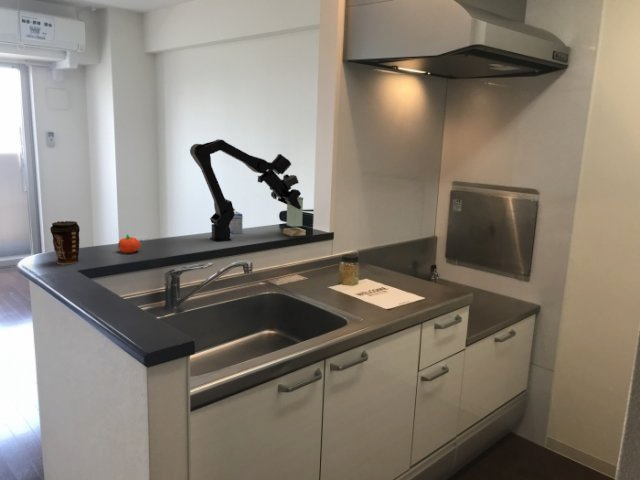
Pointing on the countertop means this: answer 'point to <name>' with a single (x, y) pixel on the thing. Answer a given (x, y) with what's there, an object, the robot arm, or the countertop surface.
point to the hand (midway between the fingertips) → (297, 207)
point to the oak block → (294, 231)
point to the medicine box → (236, 223)
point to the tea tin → (295, 214)
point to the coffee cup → (66, 241)
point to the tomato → (128, 244)
